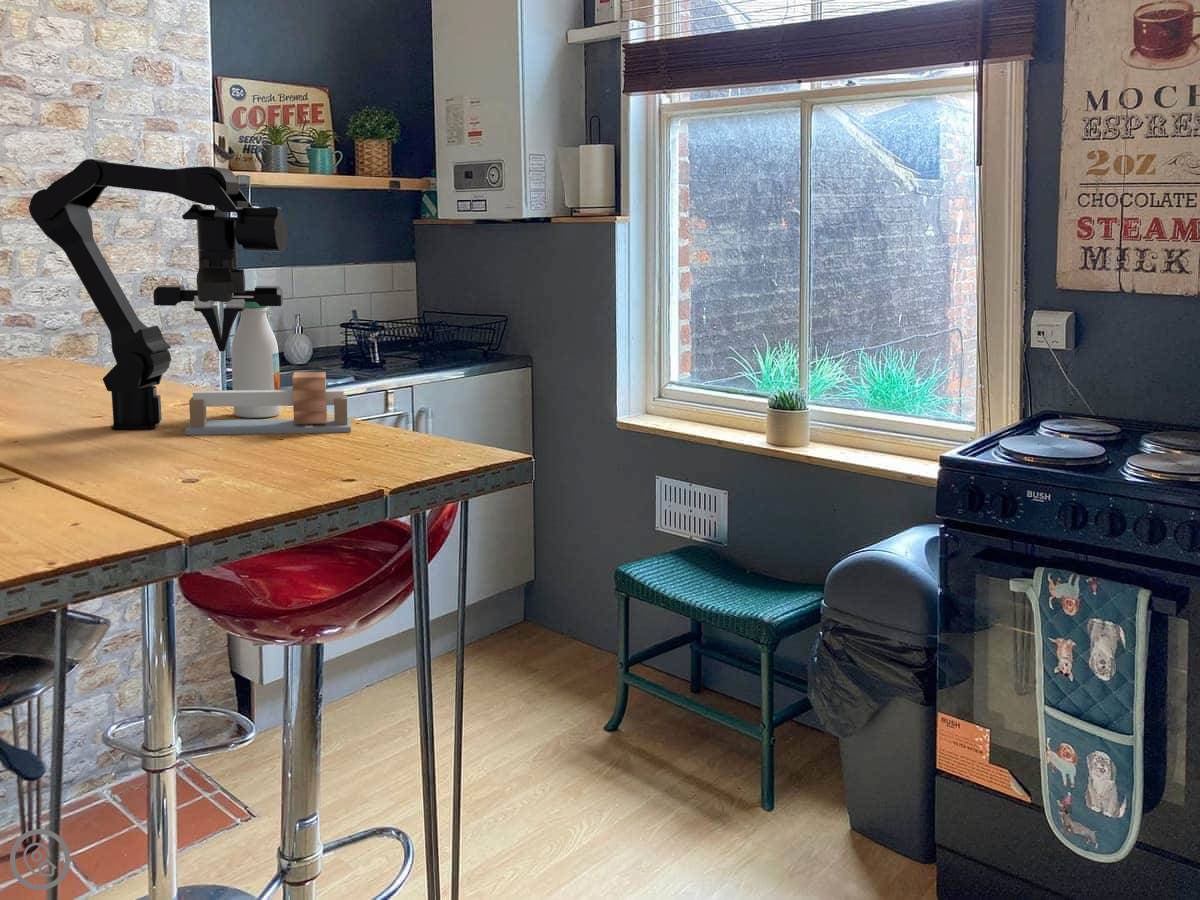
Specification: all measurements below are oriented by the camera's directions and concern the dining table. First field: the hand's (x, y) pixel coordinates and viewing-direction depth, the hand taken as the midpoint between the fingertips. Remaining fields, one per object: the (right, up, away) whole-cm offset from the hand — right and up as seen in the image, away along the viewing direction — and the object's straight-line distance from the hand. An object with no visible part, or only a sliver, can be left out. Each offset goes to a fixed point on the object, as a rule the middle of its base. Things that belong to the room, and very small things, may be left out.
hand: (222, 351), depth 179 cm
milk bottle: (+1, -10, +16) cm, 19 cm away
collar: (+13, -11, +5) cm, 17 cm away
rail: (+7, -12, +4) cm, 14 cm away
